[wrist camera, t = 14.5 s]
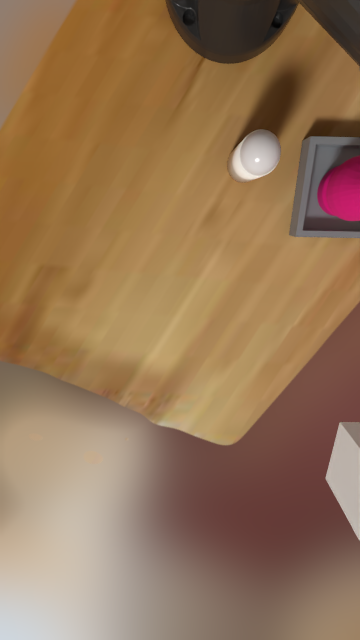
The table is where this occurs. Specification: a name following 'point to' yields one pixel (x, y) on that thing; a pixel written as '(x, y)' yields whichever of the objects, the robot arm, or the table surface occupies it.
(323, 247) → the table surface
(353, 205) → the pepper mill
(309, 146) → the tray
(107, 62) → the table surface
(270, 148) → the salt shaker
